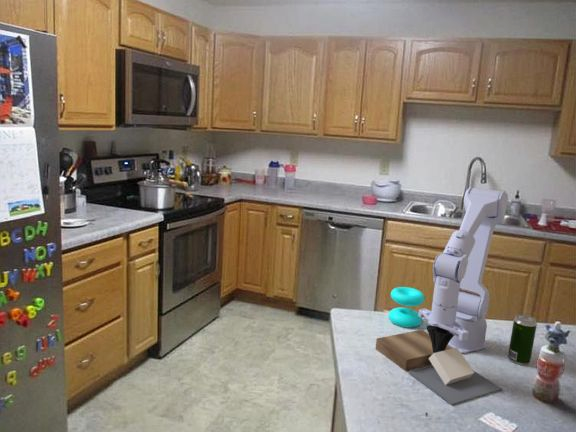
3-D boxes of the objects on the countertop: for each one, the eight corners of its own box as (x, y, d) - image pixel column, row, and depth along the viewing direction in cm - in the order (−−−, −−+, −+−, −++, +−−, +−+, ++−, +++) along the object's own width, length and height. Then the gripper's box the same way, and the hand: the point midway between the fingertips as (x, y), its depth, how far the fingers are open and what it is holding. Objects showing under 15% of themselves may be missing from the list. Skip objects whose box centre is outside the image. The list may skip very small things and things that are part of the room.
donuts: (393, 296, 135) (389, 284, 145) (390, 327, 137) (386, 314, 147) (428, 298, 134) (421, 287, 144) (424, 330, 136) (417, 316, 146)
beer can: (522, 368, 118) (530, 324, 115) (503, 358, 122) (510, 316, 120) (534, 363, 121) (541, 320, 118) (514, 353, 125) (521, 312, 123)
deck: (420, 339, 130) (422, 329, 130) (452, 359, 120) (454, 348, 119) (375, 348, 123) (376, 338, 123) (405, 371, 113) (406, 359, 112)
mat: (455, 361, 119) (456, 359, 119) (501, 389, 107) (502, 388, 107) (408, 373, 112) (408, 371, 112) (451, 405, 100) (451, 403, 100)
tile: (452, 352, 115) (457, 347, 114) (469, 377, 111) (474, 372, 109) (428, 358, 111) (433, 353, 110) (445, 385, 107) (450, 379, 105)
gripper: (411, 294, 116) (405, 344, 118) (455, 317, 103) (448, 372, 106) (432, 291, 119) (426, 339, 121) (478, 312, 106) (469, 366, 109)
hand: (438, 354), depth 114 cm, fingers closed
